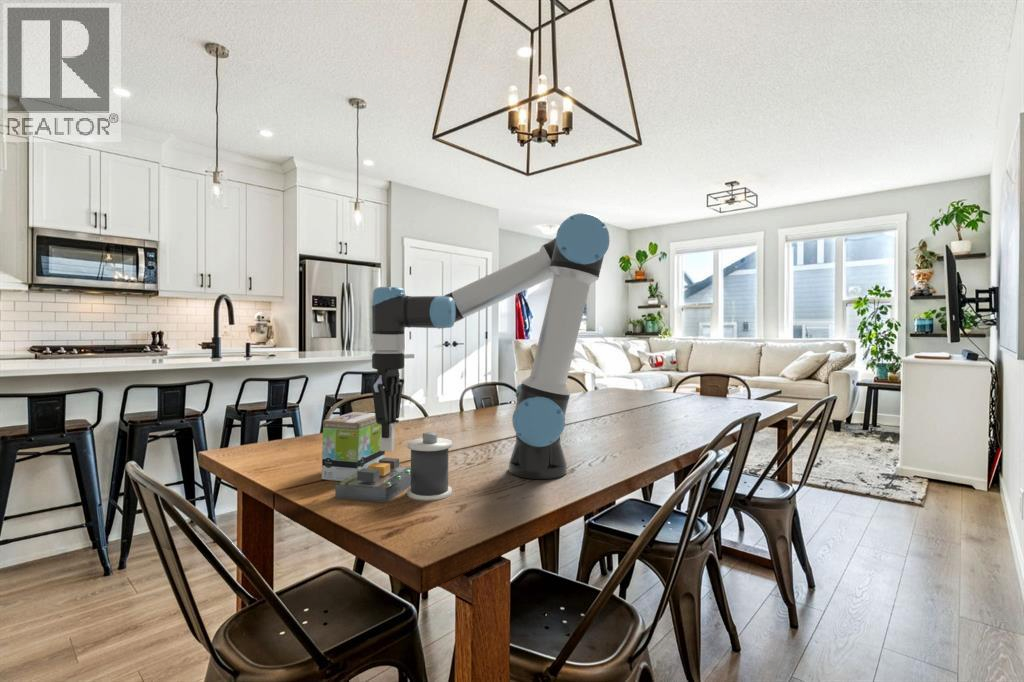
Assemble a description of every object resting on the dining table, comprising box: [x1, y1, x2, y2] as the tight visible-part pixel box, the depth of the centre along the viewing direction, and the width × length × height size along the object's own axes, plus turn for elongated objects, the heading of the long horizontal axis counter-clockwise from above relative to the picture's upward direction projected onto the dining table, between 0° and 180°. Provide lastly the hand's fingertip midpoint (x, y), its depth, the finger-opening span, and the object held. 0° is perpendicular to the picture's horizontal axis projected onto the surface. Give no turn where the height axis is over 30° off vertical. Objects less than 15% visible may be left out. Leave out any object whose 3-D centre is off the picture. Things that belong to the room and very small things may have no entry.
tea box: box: [321, 411, 386, 482], centre depth 132 cm, size 15×10×15 cm
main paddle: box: [368, 462, 390, 476], centre depth 120 cm, size 4×3×2 cm
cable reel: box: [406, 431, 453, 502], centre depth 117 cm, size 10×10×14 cm
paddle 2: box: [379, 457, 400, 470], centre depth 125 cm, size 4×3×2 cm, turn 77°
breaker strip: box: [334, 466, 411, 504], centre depth 120 cm, size 12×17×3 cm
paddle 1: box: [357, 468, 379, 482], centre depth 115 cm, size 4×3×2 cm, turn 77°
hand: (387, 450), depth 124 cm, fingers closed
